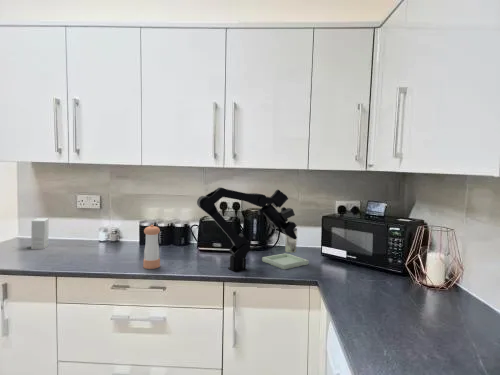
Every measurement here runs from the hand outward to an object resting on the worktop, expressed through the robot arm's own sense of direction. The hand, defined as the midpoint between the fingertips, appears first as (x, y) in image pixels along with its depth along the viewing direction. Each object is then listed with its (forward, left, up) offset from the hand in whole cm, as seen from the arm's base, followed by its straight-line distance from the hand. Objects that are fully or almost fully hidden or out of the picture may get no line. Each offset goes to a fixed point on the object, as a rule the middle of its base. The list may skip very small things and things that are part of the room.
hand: (293, 237), depth 158 cm
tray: (0, +5, -13) cm, 14 cm away
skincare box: (-96, +97, -14) cm, 137 cm away
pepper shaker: (-57, +32, -14) cm, 67 cm away
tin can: (-1, 0, -7) cm, 7 cm away
